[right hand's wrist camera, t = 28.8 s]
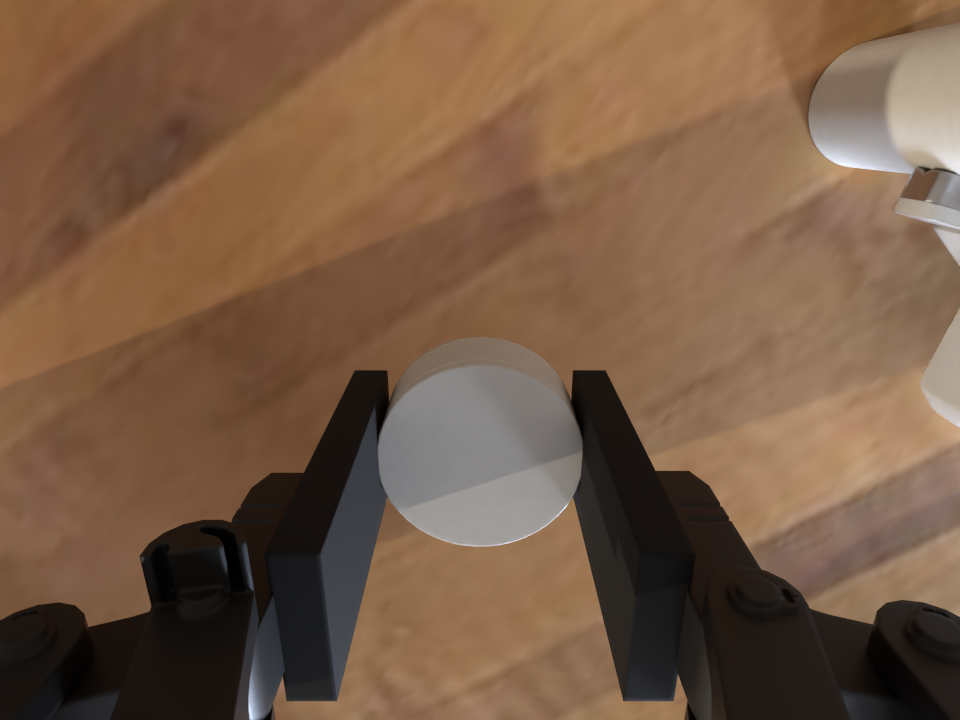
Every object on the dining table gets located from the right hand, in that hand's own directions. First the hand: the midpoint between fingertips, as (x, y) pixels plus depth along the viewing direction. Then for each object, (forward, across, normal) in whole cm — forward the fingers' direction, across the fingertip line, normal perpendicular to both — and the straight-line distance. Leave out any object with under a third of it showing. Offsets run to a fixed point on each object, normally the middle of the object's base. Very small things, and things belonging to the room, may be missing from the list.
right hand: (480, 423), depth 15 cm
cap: (-2, 0, 0) cm, 2 cm away
